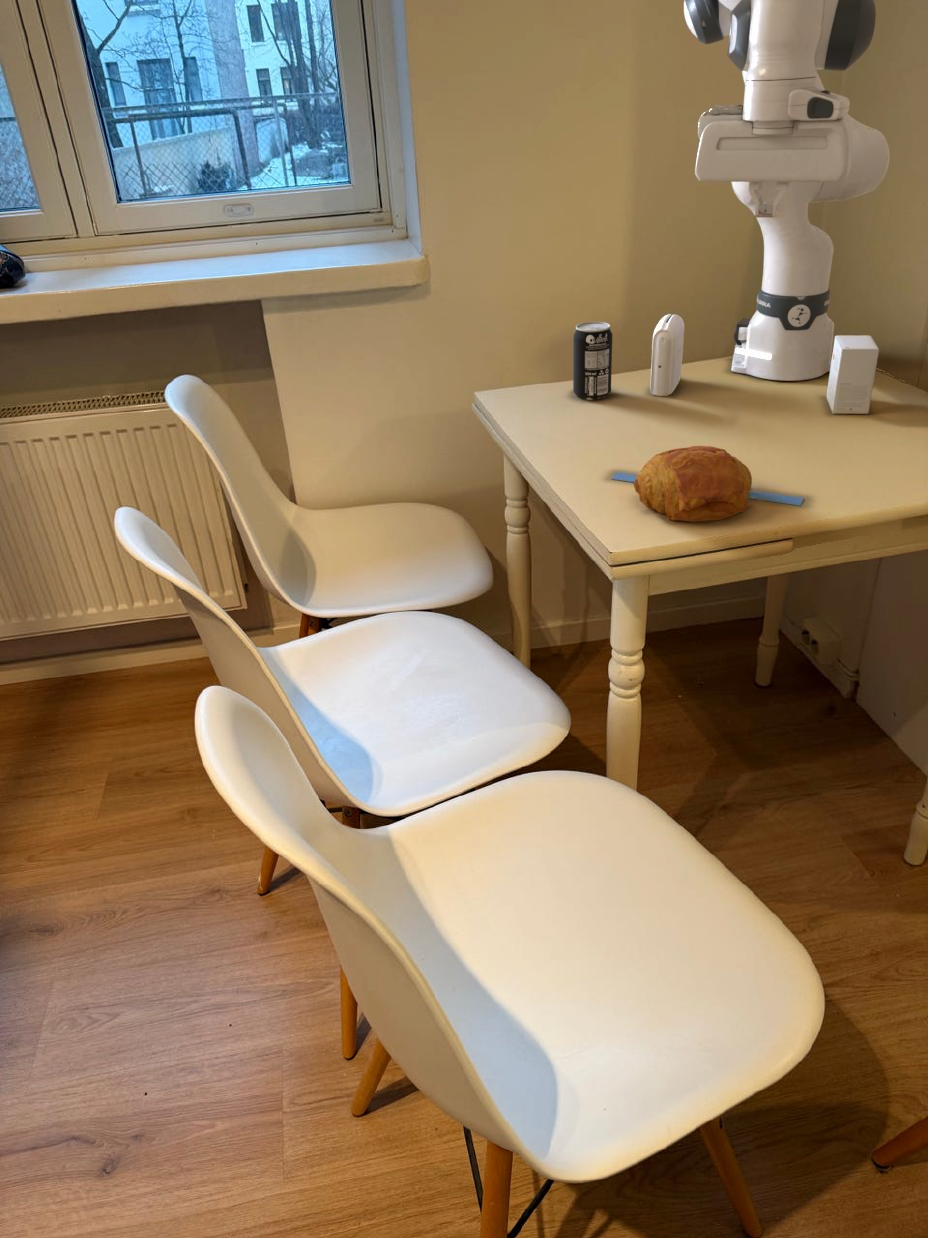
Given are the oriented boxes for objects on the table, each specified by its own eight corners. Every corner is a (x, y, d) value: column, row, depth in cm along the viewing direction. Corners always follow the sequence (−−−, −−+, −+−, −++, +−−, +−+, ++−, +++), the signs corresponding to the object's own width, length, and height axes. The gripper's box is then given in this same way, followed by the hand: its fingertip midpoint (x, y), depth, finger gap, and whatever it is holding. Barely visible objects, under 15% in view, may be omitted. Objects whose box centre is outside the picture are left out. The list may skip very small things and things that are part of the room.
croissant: (630, 497, 133) (624, 445, 129) (741, 476, 131) (738, 422, 127) (649, 542, 120) (642, 485, 116) (771, 519, 119) (769, 461, 115)
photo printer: (672, 397, 161) (676, 324, 155) (647, 395, 163) (650, 323, 156) (683, 379, 169) (688, 309, 163) (659, 377, 171) (663, 308, 164)
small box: (868, 414, 149) (880, 348, 143) (831, 414, 150) (841, 348, 144) (860, 398, 156) (871, 334, 150) (825, 397, 157) (835, 334, 151)
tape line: (617, 472, 135) (617, 472, 135) (803, 498, 125) (803, 497, 125) (611, 479, 134) (611, 478, 133) (800, 505, 123) (800, 505, 123)
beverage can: (584, 386, 169) (585, 319, 162) (617, 391, 165) (619, 323, 159) (566, 397, 164) (566, 328, 158) (599, 403, 161) (600, 332, 155)
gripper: (693, 107, 125) (686, 219, 132) (855, 103, 116) (838, 222, 124) (705, 104, 129) (698, 211, 137) (862, 99, 121) (845, 214, 128)
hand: (766, 216), depth 130 cm, fingers closed
